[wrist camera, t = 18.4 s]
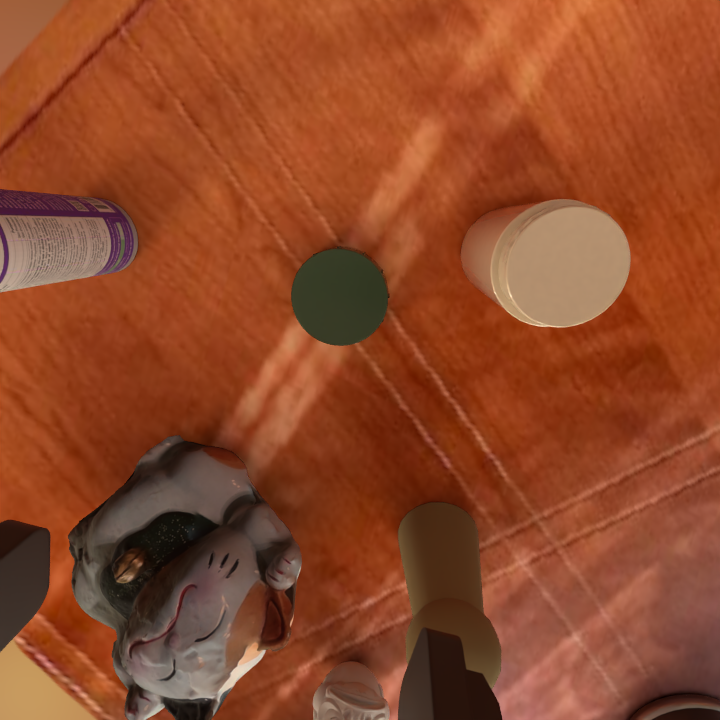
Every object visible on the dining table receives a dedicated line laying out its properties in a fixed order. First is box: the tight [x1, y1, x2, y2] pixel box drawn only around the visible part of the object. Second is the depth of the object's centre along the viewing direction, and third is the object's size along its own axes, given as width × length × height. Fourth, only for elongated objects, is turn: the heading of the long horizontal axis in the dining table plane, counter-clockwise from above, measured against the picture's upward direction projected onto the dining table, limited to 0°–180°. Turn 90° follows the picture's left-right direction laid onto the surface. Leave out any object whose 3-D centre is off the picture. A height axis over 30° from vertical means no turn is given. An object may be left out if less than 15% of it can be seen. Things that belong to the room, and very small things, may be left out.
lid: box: [291, 246, 390, 346], centre depth 27 cm, size 6×6×2 cm
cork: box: [398, 502, 501, 689], centre depth 28 cm, size 6×6×11 cm
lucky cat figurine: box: [68, 435, 302, 720], centre depth 28 cm, size 15×12×14 cm
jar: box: [461, 199, 630, 327], centre depth 22 cm, size 5×5×10 cm
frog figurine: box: [313, 661, 390, 720], centre depth 34 cm, size 6×7×7 cm
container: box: [0, 189, 138, 292], centre depth 21 cm, size 5×5×15 cm
